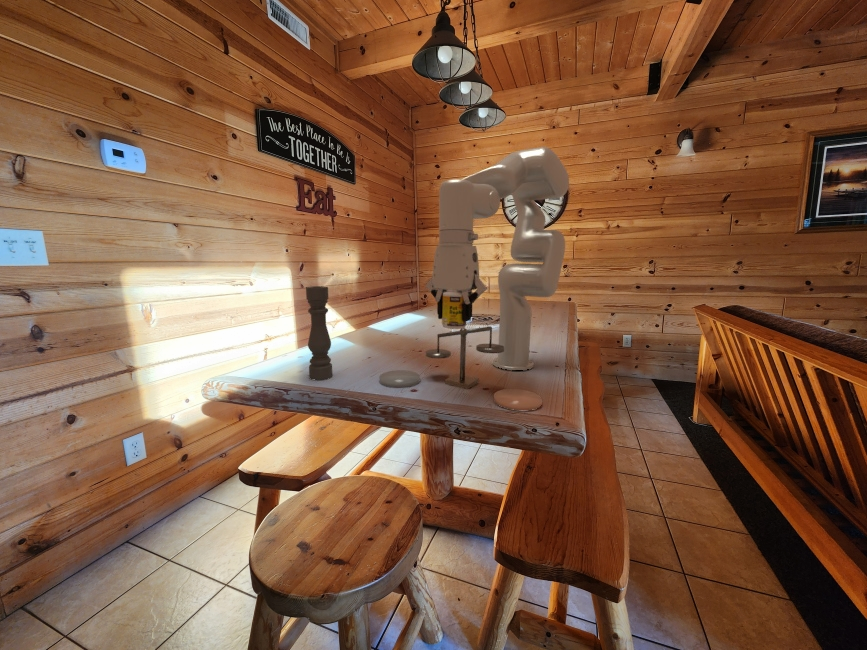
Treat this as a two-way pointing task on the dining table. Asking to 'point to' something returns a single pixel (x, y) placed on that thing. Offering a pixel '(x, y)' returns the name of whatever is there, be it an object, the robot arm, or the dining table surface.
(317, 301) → the candle holder
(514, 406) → the terracotta dish
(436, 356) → the balance
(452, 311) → the supplement bottle
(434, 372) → the dining table surface
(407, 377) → the slate dish
